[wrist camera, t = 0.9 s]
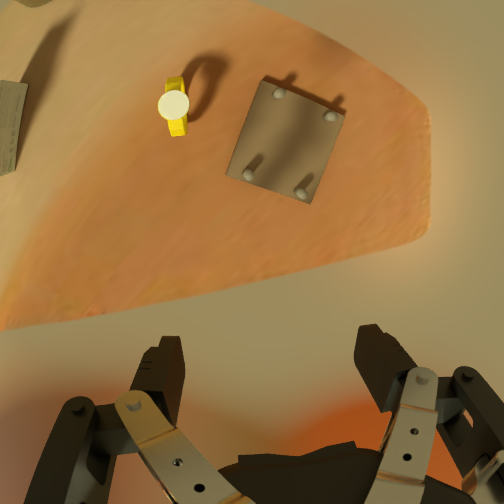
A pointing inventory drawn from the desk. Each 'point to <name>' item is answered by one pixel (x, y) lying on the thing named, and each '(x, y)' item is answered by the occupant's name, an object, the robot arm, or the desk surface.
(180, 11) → the desk surface
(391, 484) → the robot arm
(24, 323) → the desk surface
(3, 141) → the ink box
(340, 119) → the pin plate
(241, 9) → the desk surface
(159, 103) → the watch
